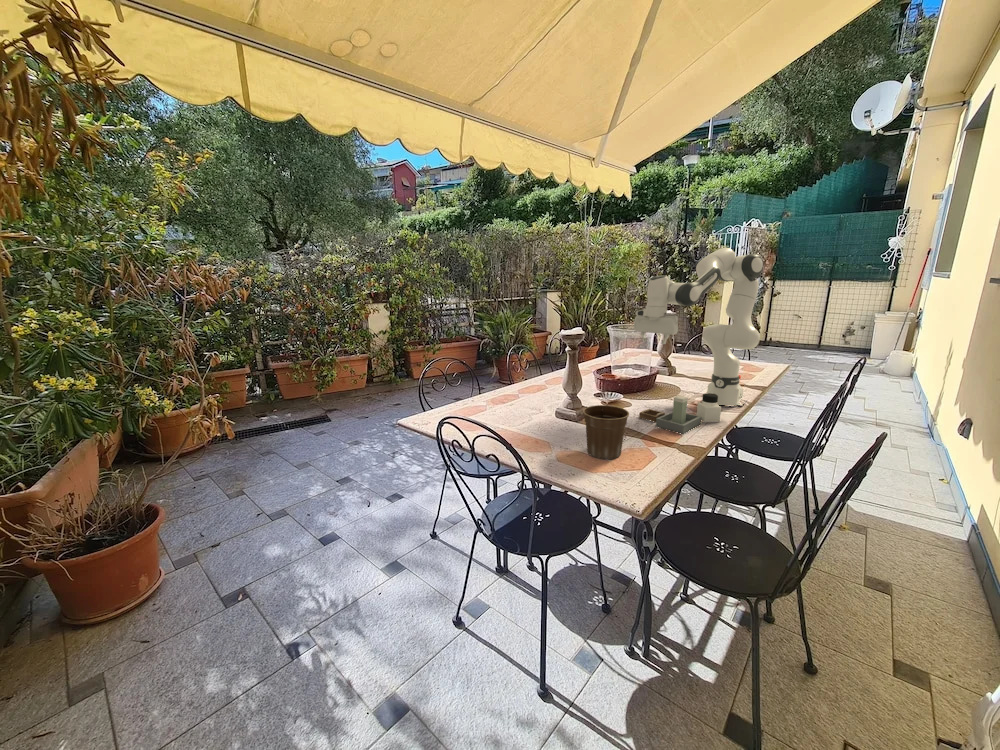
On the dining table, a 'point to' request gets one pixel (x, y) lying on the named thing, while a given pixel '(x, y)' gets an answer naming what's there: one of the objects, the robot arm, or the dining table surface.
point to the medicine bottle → (709, 408)
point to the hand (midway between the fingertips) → (654, 342)
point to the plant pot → (605, 430)
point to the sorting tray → (667, 423)
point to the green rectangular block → (679, 409)
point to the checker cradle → (650, 414)
